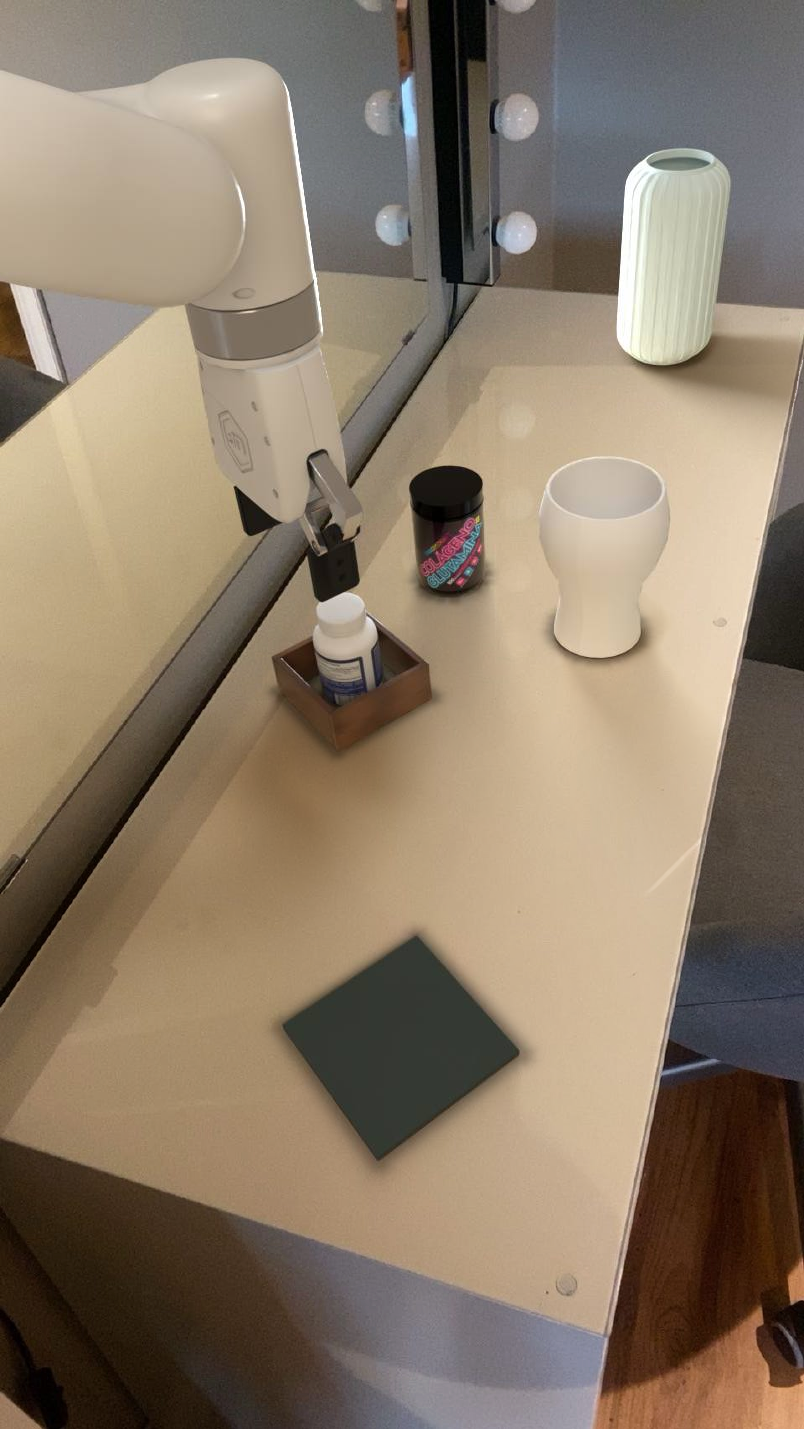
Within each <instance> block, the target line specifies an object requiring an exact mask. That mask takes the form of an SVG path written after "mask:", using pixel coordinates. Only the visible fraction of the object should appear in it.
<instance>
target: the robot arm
mask: <svg viewBox="0 0 804 1429" xmlns="http://www.w3.org/2000/svg"><path fill="white" fill-rule="evenodd" d="M291 105H292V104H291V100H290V92H289V91H288V88H287V85H286V84H285V81H284V79H283V78H282V76H281V75H280V74H279V72H278V71H277V70H276V69H275V68H273V67H272V66H271V65H269V64H268V63H266V62H263V61H259V60H256V59H252V58H251V59H250V58H246V57H220V58H210V59H203V60H198V61H197V60H196V61H193V62H188V63H184V64H180V65H177V66H175V67H172V68H169V69H167V70H165V71H163V72H161V73H159V74H158V75H156V76H154V77H153V78H152V79H150V80H148V81H146V82H142V83H136V84H131V85H124V86H119V87H111V88H104V89H94V90H85V91H76V92H74V91H73V92H72V91H71V90H66V89H64V88H60V87H57V86H54V85H51V84H47V83H44V82H41V81H38V80H35V79H32V78H29V77H25V76H22V75H19V74H16V73H13V72H10V71H6V70H3V69H0V282H1V283H6V284H11V285H15V286H20V287H25V288H30V289H35V290H41V291H47V292H52V293H58V294H62V295H69V296H75V297H81V298H88V299H95V300H102V301H108V302H115V303H119V304H120V303H121V304H126V305H134V306H141V307H150V308H158V309H164V308H165V309H166V308H174V307H175V308H176V307H181V306H184V309H185V313H186V317H187V321H188V326H189V330H190V336H191V339H192V342H193V347H194V352H195V354H196V356H197V366H198V374H199V381H200V388H201V389H200V390H201V395H202V399H203V405H204V411H205V418H206V422H207V426H208V432H209V437H210V442H211V447H212V452H213V457H214V461H215V464H216V465H217V467H218V469H219V470H220V472H221V473H222V474H223V476H225V478H226V479H228V480H229V481H230V482H231V483H232V484H233V485H234V486H233V490H234V495H235V499H236V502H237V509H238V512H239V517H240V522H241V524H242V526H241V527H242V529H243V532H244V533H245V534H246V535H247V536H248V537H255V536H256V535H258V534H260V533H263V532H265V531H267V530H270V529H272V528H274V527H276V526H279V525H281V524H291V523H293V522H294V521H295V520H298V522H299V524H300V526H301V528H302V531H303V532H304V534H305V537H306V538H307V541H308V542H309V544H310V548H308V549H306V550H305V551H306V557H307V562H308V569H309V574H310V579H311V586H312V590H313V595H314V598H315V599H316V600H317V601H318V602H325V601H327V600H329V599H331V598H333V597H335V596H337V595H340V594H342V593H347V592H348V591H350V590H353V589H354V588H356V587H357V586H359V584H360V581H361V579H360V571H359V567H358V566H359V565H358V564H359V563H358V558H357V551H356V545H355V543H356V542H355V541H356V540H358V535H359V534H360V533H361V527H362V526H361V521H362V518H363V514H364V510H363V505H362V503H361V502H360V500H359V499H358V498H357V496H356V495H355V493H354V492H353V490H352V489H351V487H350V486H349V485H348V478H347V466H346V459H345V452H344V451H345V450H344V446H343V440H342V434H341V429H340V423H339V419H338V414H337V409H336V405H335V404H336V403H335V401H334V396H333V391H332V387H331V383H330V380H329V376H328V371H327V368H326V364H325V360H324V356H323V352H322V350H321V347H320V345H319V343H320V342H321V340H322V338H323V336H324V327H323V326H324V325H323V320H322V312H321V307H320V306H321V305H320V301H319V291H318V285H317V277H316V272H315V266H314V258H313V252H312V245H311V244H312V243H311V238H310V231H309V230H310V229H309V223H308V217H307V215H308V214H307V209H306V202H305V195H304V187H303V186H304V185H303V181H302V180H303V179H302V174H301V167H300V159H299V152H298V145H297V138H296V133H295V132H296V131H295V125H294V124H295V123H294V117H293V110H292V109H293V108H292V106H291ZM317 489H318V491H319V493H320V494H321V496H320V497H318V498H316V499H314V500H312V501H309V502H308V499H309V494H310V492H312V491H315V490H317ZM325 508H328V509H329V510H330V513H331V515H332V516H331V520H332V523H331V524H328V525H327V526H326V527H325V528H324V529H323V530H322V531H321V530H320V528H319V526H318V524H317V522H316V520H315V518H314V515H313V514H315V513H317V512H319V511H321V510H323V509H325Z"/></svg>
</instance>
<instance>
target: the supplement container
mask: <svg viewBox="0 0 804 1429" xmlns="http://www.w3.org/2000/svg"><path fill="white" fill-rule="evenodd" d="M408 492H409V493H408V494H409V505H410V511H411V520H412V531H413V532H412V533H413V543H414V554H415V564H416V575H417V576H416V577H417V580H418V582H419V583H420V584H421V586H422V587H423V588H424V589H426V590H427V591H429V592H431V593H433V594H435V595H439V596H442V597H443V596H445V597H454V596H460V595H464V594H465V595H466V594H467V593H469V592H471V591H473V590H474V589H476V588H477V587H478V586H480V584H481V583H482V582H483V580H484V578H485V575H486V572H487V571H486V567H487V566H486V544H485V543H486V541H485V512H484V500H485V496H484V481H483V479H482V476H481V475H480V474H479V473H477V472H476V470H473V469H471V468H468V467H465V466H460V465H452V464H451V465H450V464H449V465H438V466H434V467H430V468H427V469H424V470H422V471H421V472H419V473H418V474H416V475H415V476H414V477H413V478H411V480H410V482H409V485H408Z"/></svg>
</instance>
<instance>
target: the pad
mask: <svg viewBox="0 0 804 1429" xmlns="http://www.w3.org/2000/svg"><path fill="white" fill-rule="evenodd" d="M281 1026H282V1029H283V1030H284V1032H285V1034H286V1035H287V1036H288V1038H289V1039H290V1040H291V1042H292V1043H293V1044H294V1046H295V1047H296V1048H297V1051H298V1052H300V1055H301V1056H302V1057H303V1058H304V1060H305V1061H306V1063H307V1064H308V1065H309V1067H310V1068H311V1070H312V1071H313V1072H314V1074H315V1075H316V1077H317V1078H318V1079H319V1081H320V1083H321V1084H322V1085H323V1087H324V1088H325V1090H326V1091H327V1092H328V1093H329V1095H330V1096H331V1098H332V1099H333V1100H334V1102H335V1103H336V1105H337V1106H338V1107H339V1109H340V1110H341V1111H342V1113H343V1114H344V1116H345V1118H346V1119H347V1120H348V1122H349V1123H350V1125H351V1126H352V1127H353V1128H354V1130H355V1131H356V1133H357V1134H358V1136H359V1137H360V1138H361V1140H362V1141H363V1143H364V1144H365V1145H366V1147H367V1148H368V1150H369V1151H370V1152H371V1154H372V1155H373V1156H374V1159H376V1161H380V1160H382V1159H383V1158H384V1157H385V1156H386V1155H388V1154H389V1153H390V1152H392V1151H393V1150H394V1149H396V1148H397V1147H399V1146H400V1145H401V1144H402V1143H404V1142H405V1141H406V1140H408V1139H409V1138H410V1137H412V1136H413V1135H415V1134H416V1133H417V1132H418V1131H419V1130H421V1129H422V1128H424V1127H425V1126H426V1125H427V1124H429V1123H430V1122H432V1121H433V1120H434V1119H436V1118H437V1117H438V1116H440V1115H441V1114H442V1113H444V1112H445V1111H446V1110H448V1109H449V1108H450V1107H451V1106H453V1105H454V1104H455V1103H457V1102H458V1101H459V1100H460V1099H462V1098H463V1097H464V1096H466V1095H468V1094H469V1093H470V1092H472V1091H473V1090H474V1089H475V1088H477V1087H479V1085H481V1084H482V1083H483V1082H485V1081H487V1079H489V1078H490V1077H491V1076H493V1075H494V1074H495V1073H497V1072H498V1071H500V1070H501V1069H502V1068H504V1066H506V1065H507V1064H509V1063H510V1062H511V1061H513V1060H514V1059H515V1058H517V1057H518V1056H519V1055H520V1049H519V1048H517V1046H516V1045H515V1044H514V1043H513V1041H512V1040H510V1037H508V1036H507V1035H506V1034H505V1033H504V1032H503V1030H502V1029H501V1028H500V1027H499V1026H498V1025H497V1024H496V1022H495V1021H494V1020H493V1019H492V1018H491V1017H490V1016H489V1015H488V1013H487V1012H486V1011H485V1010H484V1009H483V1008H482V1007H481V1006H480V1005H479V1003H478V1002H477V1001H476V1000H475V999H474V998H473V996H471V995H470V993H469V992H468V991H467V990H466V989H465V987H463V985H462V984H461V983H460V982H459V981H458V980H457V979H456V978H455V976H454V975H453V974H452V973H451V972H450V971H449V970H448V969H447V968H446V966H445V965H444V964H443V962H441V961H440V959H439V958H438V957H437V956H436V955H435V954H434V953H433V951H431V949H430V948H429V947H428V946H427V945H426V944H425V943H424V941H423V940H422V939H421V938H420V937H419V936H418V935H414V936H413V937H411V938H410V939H408V940H406V941H405V942H404V943H402V944H401V945H400V946H398V947H396V948H395V949H394V950H392V951H391V952H389V953H388V954H386V955H384V956H383V957H381V958H380V959H379V960H377V961H375V962H374V963H372V964H371V965H370V966H367V967H366V968H365V969H363V970H361V972H359V973H357V974H356V975H354V976H353V977H351V978H350V979H349V980H347V981H346V982H344V983H343V984H341V985H340V986H338V987H337V988H335V989H334V990H331V991H330V992H329V993H327V994H326V995H325V996H323V997H321V998H320V999H318V1000H317V1001H316V1002H314V1003H313V1004H311V1005H310V1006H308V1007H306V1008H305V1009H303V1010H302V1011H301V1012H299V1013H298V1014H296V1015H294V1016H293V1017H292V1018H290V1019H289V1020H287V1021H286V1022H283V1024H282V1025H281Z"/></svg>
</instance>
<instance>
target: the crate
mask: <svg viewBox="0 0 804 1429" xmlns="http://www.w3.org/2000/svg"><path fill="white" fill-rule="evenodd" d="M365 611H366V616H367V617H369V618H370V619H371V620H372V621H373V623H374V624H375V626H376V630H377V634H378V641H379V648H380V655H381V662H382V664H384V665H385V666H386V667H387V668H389V669H390V671H392V672H393V673H394V674H395V675H396V676H395V677H393V678H391V679H389V680H387V681H384V683H383V684H382V685H380V686H378V687H376V688H374V689H373V690H371V691H369V692H367V693H365V694H363V695H362V696H360V697H358V698H356V699H354V700H353V701H351V702H349V703H347V704H345V705H343V706H342V707H340V708H338V709H336V710H334V709H333V708H332V707H331V706H330V705H329V704H328V703H327V702H326V701H325V699H324V698H323V697H322V696H321V695H319V694H318V692H316V691H315V689H314V688H312V687H311V685H309V684H308V682H307V681H309V680H311V679H313V678H315V677H316V676H319V675H320V674H319V670H318V665H317V659H316V655H315V650H314V644H313V635H311V636H309V637H307V638H305V639H303V640H301V641H299V642H297V643H295V644H293V645H291V646H290V647H288V648H286V649H284V650H282V651H280V652H278V653H276V654H274V655H272V656H271V662H272V666H273V668H274V669H273V671H274V674H275V679H276V683H277V688H278V691H279V692H280V693H281V694H282V695H283V696H284V697H285V699H287V701H289V703H290V704H292V705H293V706H294V707H295V708H296V709H297V710H298V712H299V713H300V714H301V715H302V716H304V718H305V719H307V721H308V723H310V724H311V725H312V726H313V727H314V728H315V729H316V731H318V733H320V734H321V735H322V736H323V737H324V738H325V740H327V741H328V742H329V743H330V745H331V746H333V747H334V749H336V751H338V752H340V751H342V750H343V749H345V748H347V747H349V746H351V745H353V744H354V743H355V742H357V741H359V740H361V739H363V738H364V737H366V736H368V735H370V734H372V733H374V732H375V731H377V730H378V729H381V728H382V727H384V726H386V725H387V724H390V723H391V722H393V721H394V720H396V719H398V718H400V717H402V716H403V715H405V714H407V713H409V712H411V711H412V710H414V709H416V708H417V707H419V706H421V705H423V704H424V703H426V702H428V701H430V700H432V699H433V694H432V683H431V670H430V663H428V662H427V661H426V660H425V659H424V658H422V656H420V655H419V654H418V653H417V652H416V651H414V650H413V649H412V648H411V647H410V646H408V644H406V643H405V642H404V641H402V640H401V639H400V638H399V637H398V636H396V635H395V634H394V633H393V632H392V631H391V630H390V629H388V628H387V627H386V626H385V625H383V624H382V623H381V622H380V621H378V619H377V618H375V617H374V616H372V615H371V614H370V613H369V612H368V611H367V610H366V609H365Z"/></svg>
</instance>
